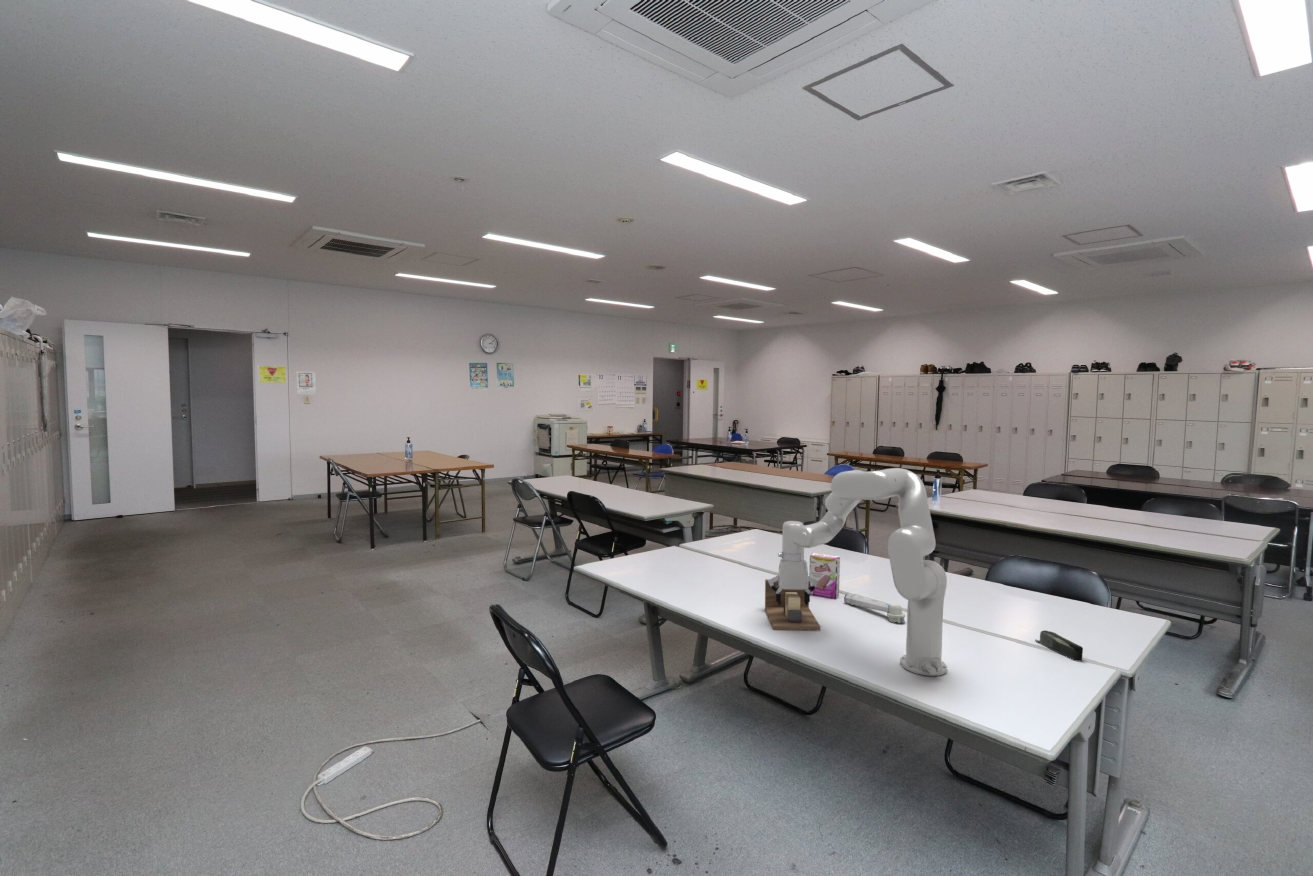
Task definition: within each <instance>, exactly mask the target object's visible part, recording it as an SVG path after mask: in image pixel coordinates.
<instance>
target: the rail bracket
mask: <svg viewBox="0 0 1313 876" xmlns="http://www.w3.org/2000/svg"><path fill="white" fill-rule="evenodd" d="M788 610H800V597H799V595H798V594H797V593H796V592H786V597H785V615H786V616H787V618H788Z"/></svg>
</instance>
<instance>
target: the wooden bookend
mask: <svg viewBox="0 0 1313 876" xmlns="http://www.w3.org/2000/svg"><path fill="white" fill-rule="evenodd" d="M768 580H769V578H768V579H765V580H764V584H765V585H764V611H765V613H766V616H767V618H768V622H769V623H770V625H771V628H772V630H773V631H814V630H820V631H821V625H820V623H819V622H818V620H817V619H816V617H815V616H814V613H813V612H812V611H811V609H810V602H808V605H806V604H805V602H804V593H805V590H784V589H782V590H781V592H780V594H781V605H778V603H777V602H776V592H775V591H774V590H773V589H772V588H771V586H770V584H769V582H768ZM773 585H774V586H775V587H777V586H778V585H779V584H778V581H776V582H774V583H773ZM808 588H809V581H808ZM786 592H796V593H797V594H798V595H799V597H800V610H788V618H787V616H786V615H785V597H786Z"/></svg>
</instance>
